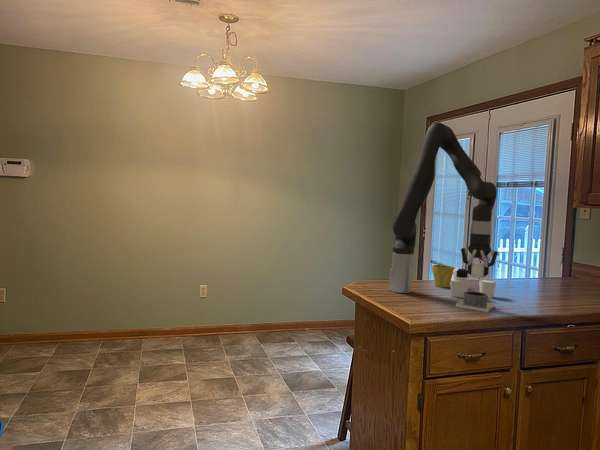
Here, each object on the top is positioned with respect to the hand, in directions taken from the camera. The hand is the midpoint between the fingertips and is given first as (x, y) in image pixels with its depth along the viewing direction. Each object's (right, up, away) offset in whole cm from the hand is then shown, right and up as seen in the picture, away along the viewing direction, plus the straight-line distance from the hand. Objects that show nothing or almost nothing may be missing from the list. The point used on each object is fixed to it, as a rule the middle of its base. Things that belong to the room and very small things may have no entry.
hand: (477, 275), depth 180 cm
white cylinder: (+12, -12, +21) cm, 27 cm away
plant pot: (-2, -10, +40) cm, 42 cm away
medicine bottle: (-1, -12, +20) cm, 23 cm away
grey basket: (-1, -13, +1) cm, 13 cm away
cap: (0, -1, 0) cm, 1 cm away
